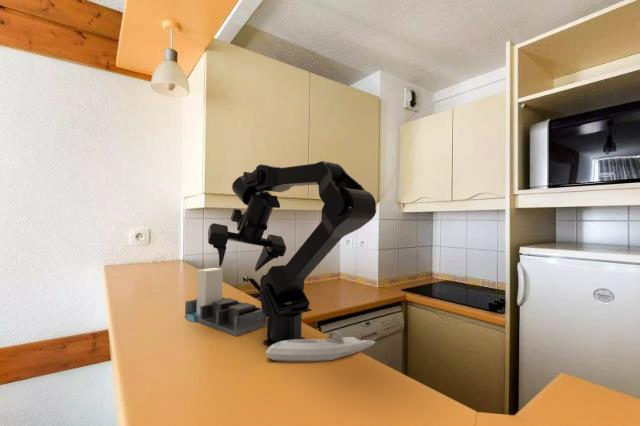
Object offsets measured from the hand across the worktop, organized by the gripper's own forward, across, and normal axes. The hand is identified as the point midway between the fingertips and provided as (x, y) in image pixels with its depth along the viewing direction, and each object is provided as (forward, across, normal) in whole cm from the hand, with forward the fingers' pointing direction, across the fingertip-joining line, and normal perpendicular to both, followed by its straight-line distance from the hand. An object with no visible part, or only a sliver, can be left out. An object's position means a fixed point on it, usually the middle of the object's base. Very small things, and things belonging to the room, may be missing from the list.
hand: (238, 267), depth 80 cm
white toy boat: (-2, -14, +28) cm, 31 cm away
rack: (+11, +1, +7) cm, 13 cm away
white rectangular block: (+14, +4, +2) cm, 14 cm away
